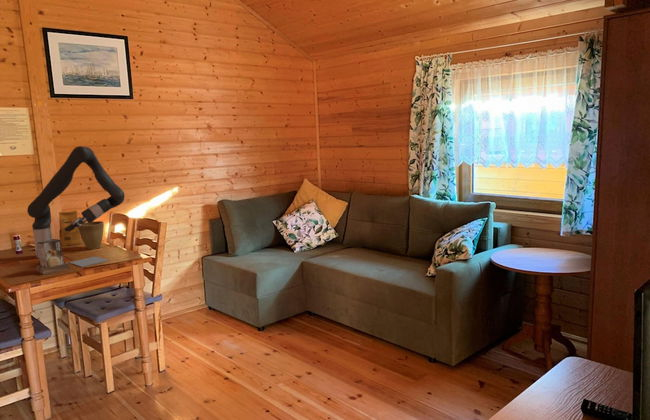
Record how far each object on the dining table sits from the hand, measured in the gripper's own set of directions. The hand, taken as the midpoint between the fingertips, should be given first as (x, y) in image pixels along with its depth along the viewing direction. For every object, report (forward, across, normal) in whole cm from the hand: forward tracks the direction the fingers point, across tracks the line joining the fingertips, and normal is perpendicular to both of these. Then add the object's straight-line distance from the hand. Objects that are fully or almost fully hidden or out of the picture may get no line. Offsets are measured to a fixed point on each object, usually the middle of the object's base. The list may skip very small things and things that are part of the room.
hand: (66, 230), depth 269 cm
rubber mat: (+1, -1, +21) cm, 21 cm away
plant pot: (-10, -37, +21) cm, 44 cm away
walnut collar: (+18, +3, +13) cm, 22 cm away
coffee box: (+18, +3, +14) cm, 23 cm away
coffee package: (-4, -62, +14) cm, 63 cm away
